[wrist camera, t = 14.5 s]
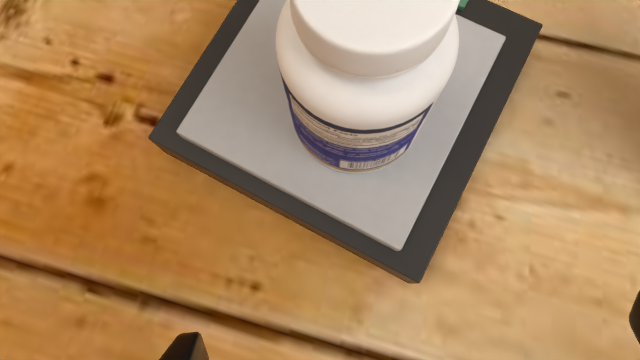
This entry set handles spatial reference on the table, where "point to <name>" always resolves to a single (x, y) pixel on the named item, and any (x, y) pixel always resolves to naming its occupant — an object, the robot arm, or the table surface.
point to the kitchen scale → (321, 181)
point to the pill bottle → (364, 74)
